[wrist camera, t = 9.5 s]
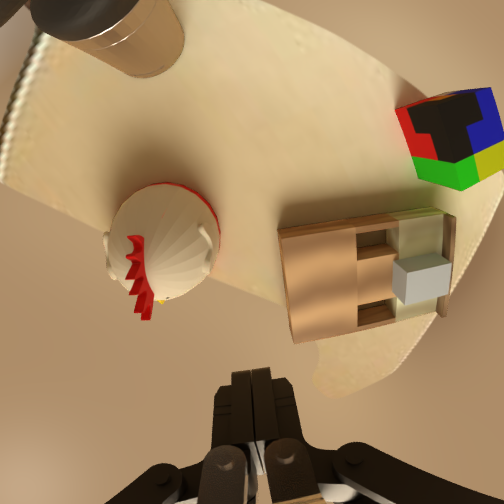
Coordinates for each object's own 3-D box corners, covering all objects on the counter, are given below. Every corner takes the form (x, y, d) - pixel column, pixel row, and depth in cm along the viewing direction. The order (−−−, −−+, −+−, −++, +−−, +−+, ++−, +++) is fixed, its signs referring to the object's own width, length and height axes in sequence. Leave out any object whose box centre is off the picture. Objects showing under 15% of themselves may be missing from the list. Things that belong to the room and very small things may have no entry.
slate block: (393, 260, 38) (407, 272, 34) (435, 252, 38) (451, 262, 34) (391, 291, 39) (404, 305, 35) (433, 281, 39) (448, 294, 35)
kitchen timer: (127, 287, 42) (86, 350, 28) (110, 189, 37) (48, 217, 23) (225, 281, 42) (220, 350, 28) (215, 177, 37) (202, 199, 23)
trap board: (277, 229, 40) (283, 244, 34) (432, 206, 40) (456, 217, 34) (289, 328, 45) (296, 353, 39) (427, 298, 45) (446, 316, 39)
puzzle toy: (445, 92, 34) (490, 87, 25) (465, 156, 37) (510, 164, 28) (394, 109, 35) (436, 104, 26) (418, 178, 38) (461, 191, 29)
